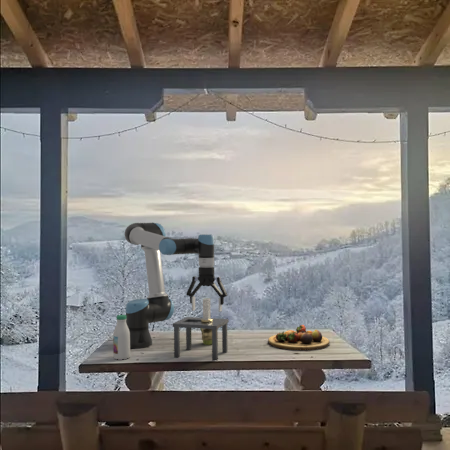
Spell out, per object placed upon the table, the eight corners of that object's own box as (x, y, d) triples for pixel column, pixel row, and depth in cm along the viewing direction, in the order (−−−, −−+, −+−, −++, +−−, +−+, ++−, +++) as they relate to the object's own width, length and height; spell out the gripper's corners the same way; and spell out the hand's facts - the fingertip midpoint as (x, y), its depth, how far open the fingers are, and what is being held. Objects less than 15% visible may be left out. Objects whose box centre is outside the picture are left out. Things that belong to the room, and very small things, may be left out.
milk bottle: (131, 355, 236) (131, 313, 236) (128, 360, 228) (128, 316, 228) (115, 356, 235) (114, 314, 235) (112, 360, 228) (111, 317, 228)
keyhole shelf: (172, 357, 231) (172, 323, 231) (187, 348, 248) (186, 316, 249) (217, 361, 225) (216, 326, 225) (228, 351, 242) (228, 319, 242)
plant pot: (215, 346, 253) (215, 329, 253) (198, 345, 255) (197, 328, 255) (219, 342, 262) (219, 325, 262) (202, 341, 264) (202, 325, 264)
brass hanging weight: (199, 340, 234) (199, 299, 234) (203, 337, 239) (203, 297, 239) (210, 341, 232) (210, 299, 232) (214, 338, 237) (214, 298, 238)
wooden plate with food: (283, 334, 280) (283, 320, 280) (337, 341, 264) (337, 325, 264) (257, 346, 253) (257, 330, 253) (316, 354, 236) (316, 337, 236)
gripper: (179, 266, 236) (179, 310, 236) (228, 267, 228) (229, 313, 228) (185, 265, 243) (185, 308, 243) (233, 266, 236) (233, 310, 236)
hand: (206, 310), depth 236 cm, fingers open, 13 cm apart
